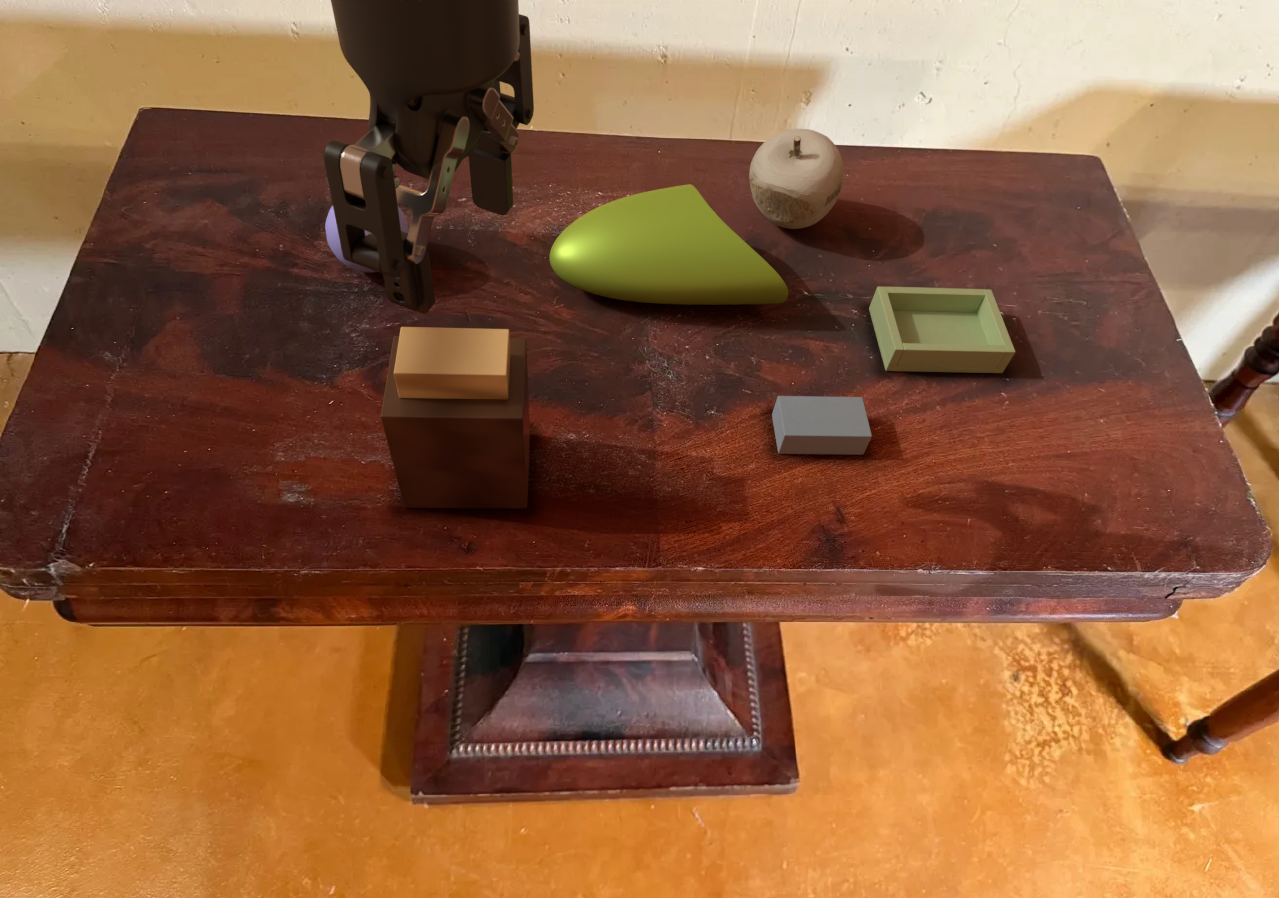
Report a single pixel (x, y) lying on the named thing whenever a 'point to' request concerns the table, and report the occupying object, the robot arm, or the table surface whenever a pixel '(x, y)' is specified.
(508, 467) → the stand
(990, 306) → the olive green tray
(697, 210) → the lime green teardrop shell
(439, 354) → the birch pad
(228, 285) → the table surface
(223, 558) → the table surface
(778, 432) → the rubber pad
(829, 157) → the decorative object
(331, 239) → the sphere
